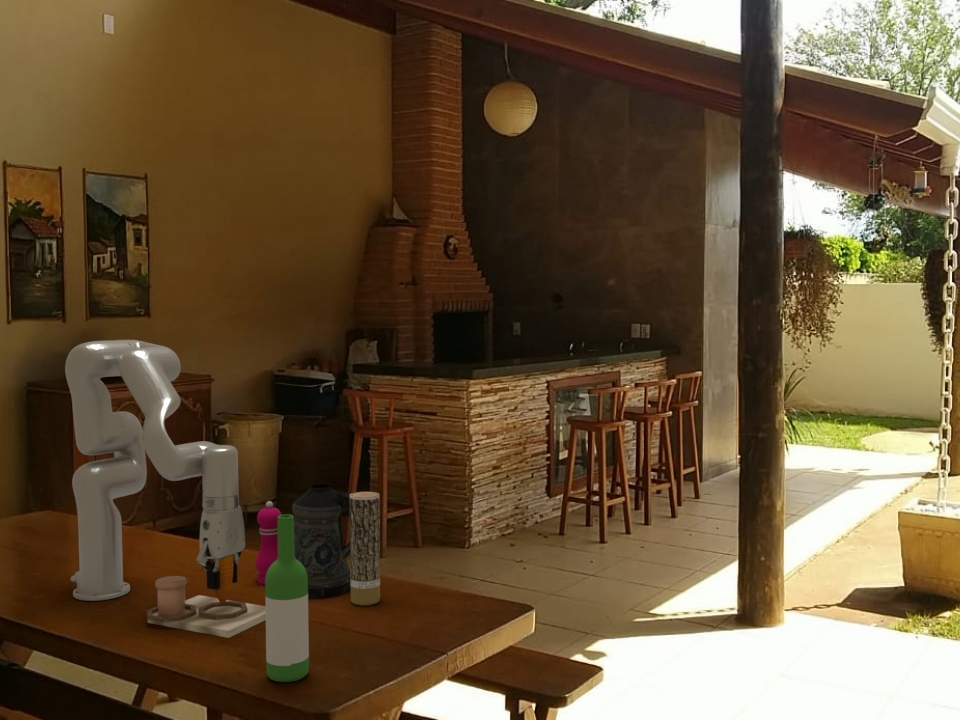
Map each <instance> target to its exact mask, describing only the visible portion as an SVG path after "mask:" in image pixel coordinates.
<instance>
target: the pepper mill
mask: <svg viewBox="0 0 960 720" xmlns="http://www.w3.org/2000/svg"><path fill="white" fill-rule="evenodd" d="M273 506H274V504H273V502H272V501H270V500H269V501H266V502H265V507H264V508H261V509H260V510H259V511H258V513H257V517H256V521H257V524H258V525H259V526H260V527H258V530H259V534H260V535H261V539H260V540H261V544H260V548H259V551H258V552H257V555H256V558H255V563H254V567H255V569H256V570H257V571H258V574H257V583H258V584H261V585H264V586H265V579H266V574H267V571H268V569H269V567H270V566H271V565H272V564H273V563H274V562H275V561H276V560H277V558H278V516H279V515H283V514H282V512H281V510H279V509H278V508H277V507H273Z"/></svg>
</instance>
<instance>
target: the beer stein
mask: <svg viewBox="0 0 960 720" xmlns="http://www.w3.org/2000/svg"><path fill="white" fill-rule="evenodd" d="M291 509H292V513H293V514H292V515H293V516H294V553H295V558H296V559H297V560H298V561H299V562H301V563H302V565H303V566H304V567H305V569H306V572H307V577H308V599H325V598H326V599H327V598H332V597H335V596H340V595H344V593H346V592H347V591H349V589H350V588H351V585H350V565H349V564H348V560H347V557H350V541H349V542H348V543H347V544H346V545H345V542H344V533H343V525H342V521H341V519H342V517H350V494H349V493H348V492H342V491H337V490H335V489H334V487H332V486H331V484H330V485H329V484H311V485H310V487H309V488H308V490H306V492H304V493H303V494H302V495H301V496H300V497H299V498H297V499H296V500H294V502H293V504H292V506H291Z"/></svg>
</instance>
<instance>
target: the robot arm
mask: <svg viewBox="0 0 960 720" xmlns="http://www.w3.org/2000/svg"><path fill="white" fill-rule="evenodd" d="M180 361H181V360H180V359H179V356H178V355H177V353H176V352H175V351H174V350H173V349H171V348H170V347H167V346H165V345H159V344H154V343H151V342H147V341H142V340H137V339H115V340H93V341H88V342H83V343H80V344H78V345H76V346H75V347H73V348H72V349H71V350H70V351H69V353H68V355H67V358H66V360H65V366H64V369H65V370H64V372H65V378H66V382H67V385H68V388H69V393H70V396H71V403H72V416H73V427H74V437H75V442H76V443H75V445H76V447H77V449H78V451H79V452H80V453H81V454H83V455H86V456H97V455H99V456H100V455H103V454H104V455H105V454H111V453H113V455H114V457H111V458H103V459H99V460H93V461H90V462H87V463H84V464H82V465H81V466H79V467H78V468H77V469H76V470H75V471H74V473H73V475H72V480H71V481H72V482H71V485H72V490H73V491H72V492H73V495H74V499H75V503H76V510H77V525H78V526H77V529H78V554H79V555H78V559H79V570H78V571H75V573H74V575H71V577H70V581H71V582H72V583H73V582H74V583H76V587H75V589H73V591H72V596H73V598H75V599H76V600H79V601H89V602H95V601H107V600H111V599H117V598H120V597H123V596H125V595H127V594H128V593H129V592H130V591H131V585H130V583H128V582H126V581H124V570H123V568H124V567H123V560H124V559H123V531H122V530H123V527H122V526H123V525H122V523H123V522H122V516H121V512H120V510H119V509H118V507H117V506H116V504H115V503H114V500H115V499H118V498H121V497H126V496H129V495H134V494H137V493H139V492H140V491H142V490H143V488H144V487H145V485H146V482H147V474H148V473H147V471H148V470H147V460H146V457H148V458H149V460H150V462H151V463H152V465H153V466H154V468H155V469H156V471H157V472H158V474H159V475H160V476H161V477H163V478H164V479H166V480H168V481H171V482H176V481H183V480H186V479H191V478H196V477H201V476H202V511H201V512H202V513H201V517H200V524H199V553H198V555H197V557H196V562H197V563H198V564H199V565H201V566H202V567H203V569H204V571H205V572H206V588H207V589H209V590H213V591H214V590H219V589H220V571H218V566H219V560H220V558H224V557H226V556H229V555H232V554H233V557H234V567H233V580H232V584H235V583H238V564H240V563H239V562H240V557H241V556H242V552H243V550H244V549H245V547H246V531H245V520H244V516H243V510H242V507H241V505H240V504H239V503H240V495H239V494H240V493H239V453H238V452H239V451H238V449H237V448H236V447H235V446H234V445H230V444H229V445H228V444H216V443H213V442H211V441H206V440H203V441H202V440H201V441H193V442H188V443H183V444H182V443H181V444H177V445H175V444H174V443H173V441H172V440H171V438H170V436H169V435H168V433H167V429H166V426H165V420H166V419H167V418H169V417H170V416H171V415H173V414H174V413H175V412H176V410H178V408H180V405H181V401H182V400H181V398H180V395H179V394H178V392H177V390H176V389H175V387H174V386H173V383H172V382H174V381H175V380H176V379H177V378H178V377H179V376H180V373H181V369H182V364H181V362H180ZM107 377H121V378H122V380H123V382H124V383H125V385H126V387H127V389H128V390H129V392H130V394H131V395H132V397H133V399H134V400H135V402H136V404H137V405H138V407H139V408H140V410H141V412H142V414H143V416H144V418H145V419H144V423H143V426H142V424H141V422H140V420H139V419H138V417H137V416H136V415H135V414H133V413H131V412H129V411H125V410H124V411H113V408H112V397H111V394H110V391H109V389H108V387H107V386H106V385H105V383H104V382H103V381H102V380H101V379H102V378H107ZM146 455H147V456H146ZM211 559H214V562H213V564H212V563H211Z"/></svg>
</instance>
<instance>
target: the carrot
mask: <svg viewBox="0 0 960 720" xmlns="http://www.w3.org/2000/svg"><path fill="white" fill-rule="evenodd" d="M213 562H214V559H211V563H212V564H213ZM233 567H234V557H233V554H232V555H229V556H226V557H224V558H220V560H219V566H218V571H220V589H219V590H214V589H213V591H214V594H215V596H216V598H218V600H219V602H220V603H221V604H224V603H225V602H226V600H228V598H229V595H230V592H231V590H232V584H233V583H232V580H233Z"/></svg>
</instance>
